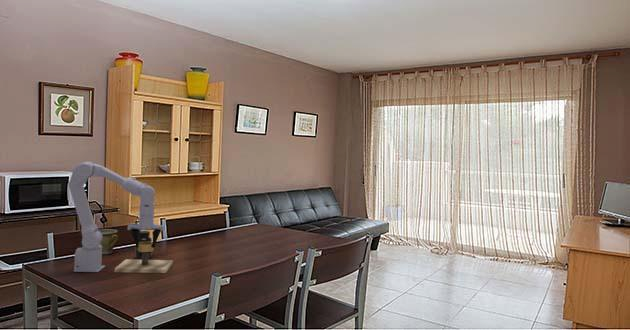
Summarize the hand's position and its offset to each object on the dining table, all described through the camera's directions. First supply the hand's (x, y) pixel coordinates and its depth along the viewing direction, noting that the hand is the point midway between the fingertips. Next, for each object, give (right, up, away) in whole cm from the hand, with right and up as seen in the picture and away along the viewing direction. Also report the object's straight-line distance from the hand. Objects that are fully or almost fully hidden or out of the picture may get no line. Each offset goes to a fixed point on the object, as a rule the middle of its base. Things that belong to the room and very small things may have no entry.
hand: (145, 246), depth 185 cm
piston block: (0, -9, 0) cm, 9 cm away
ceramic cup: (-26, -7, +21) cm, 34 cm away
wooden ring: (0, -1, 0) cm, 1 cm away
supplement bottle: (-7, -8, +16) cm, 19 cm away
